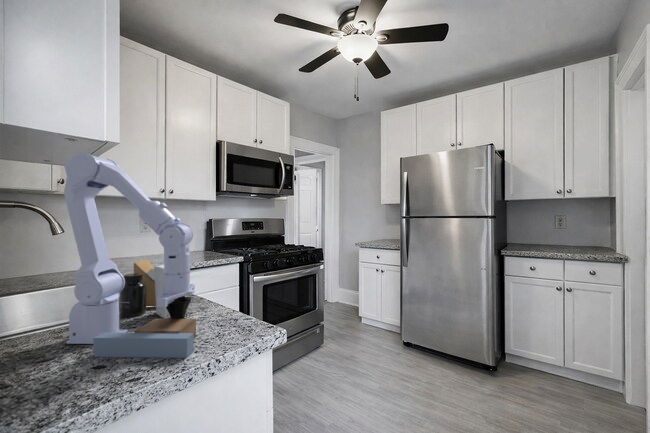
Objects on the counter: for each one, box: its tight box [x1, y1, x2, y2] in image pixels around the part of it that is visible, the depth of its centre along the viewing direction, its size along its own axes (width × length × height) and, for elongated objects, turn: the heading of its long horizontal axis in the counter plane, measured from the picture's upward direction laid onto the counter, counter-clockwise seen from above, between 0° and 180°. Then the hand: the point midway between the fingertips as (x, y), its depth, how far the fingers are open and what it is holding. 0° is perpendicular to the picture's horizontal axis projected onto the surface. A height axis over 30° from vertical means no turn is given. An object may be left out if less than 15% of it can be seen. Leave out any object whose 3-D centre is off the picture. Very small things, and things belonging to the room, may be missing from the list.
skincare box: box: [153, 264, 171, 319], centre depth 93 cm, size 8×6×15 cm
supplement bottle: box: [119, 272, 147, 318], centre depth 94 cm, size 7×7×12 cm
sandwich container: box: [133, 258, 188, 306], centre depth 105 cm, size 9×15×15 cm, turn 97°
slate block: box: [92, 332, 195, 359], centre depth 66 cm, size 20×3×4 cm, turn 88°
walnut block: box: [133, 318, 197, 339], centre depth 72 cm, size 10×8×4 cm
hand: (177, 328), depth 76 cm, fingers closed
